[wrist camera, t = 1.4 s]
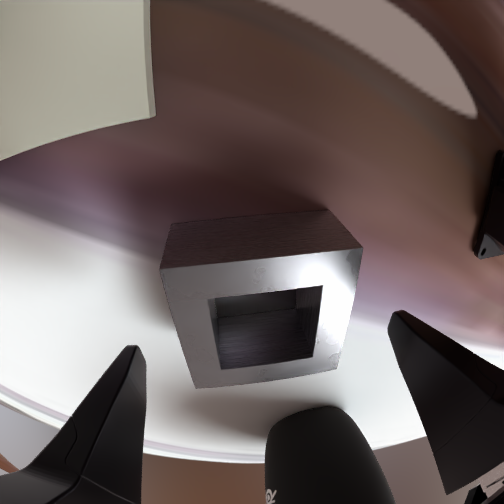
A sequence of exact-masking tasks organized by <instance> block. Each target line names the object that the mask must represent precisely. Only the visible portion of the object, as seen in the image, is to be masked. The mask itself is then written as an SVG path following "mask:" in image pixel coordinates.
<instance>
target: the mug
mask: <svg viewBox="0 0 504 504" xmlns="http://www.w3.org/2000/svg"><path fill="white" fill-rule="evenodd" d="M265 487H266V488H265V490H266V503H267V504H396V503H395V500H394V497H393V495H392V492H391V489H390V487H389V485H388V482H387V480H386V478H385V476H384V473H383V471H382V469H381V467H380V465H379V463H378V461H377V459H376V457H375V455H374V453H373V451H372V449H371V447H370V446H369V444H368V442H367V440H366V439H365V437H364V435H363V434H362V432H361V431H360V429H359V428H358V426H357V425H356V423H355V422H354V421H353V419H352V418H351V417H350V416H349V415H348V414H347V413H345V412H344V411H342V410H340V409H338V408H332V407H324V408H316V409H311V410H307V411H303V412H300V413H297V414H294V415H291V416H289V417H287V418H285V419H283V420H281V421H280V422H278V423H277V424H276V425H275V426H274V427H273V428H272V429H271V431H270V433H269V435H268V439H267V443H266V450H265Z"/></svg>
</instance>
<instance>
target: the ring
mask: <svg viewBox="0 0 504 504" xmlns="http://www.w3.org/2000/svg"><path fill="white" fill-rule="evenodd" d="M362 252H363V247H362V246H361V245H360V244H359V242H358V241H357V240H356V239H355V238H354V237H353V236H352V234H351V233H350V232H349V231H348V230H347V229H346V228H345V227H344V225H343V224H342V223H341V222H340V221H339V220H338V219H337V218H336V217H335V215H334V214H333V213H332V212H331V211H330V210H320V211H306V212H292V213H280V214H268V215H256V216H245V217H235V218H225V219H215V220H205V221H196V222H187V223H178V224H171V228H170V231H169V235H168V239H167V242H166V246H165V250H164V253H163V257H162V261H161V265H160V269H159V270H160V273H161V277H162V281H163V285H164V289H165V293H166V296H167V300H168V303H169V307H170V310H171V314H172V317H173V321H174V324H175V327H176V331H177V334H178V337H179V340H180V344H181V347H182V350H183V353H184V356H185V359H186V362H187V365H188V368H189V371H190V374H191V377H192V379H193V382H194V385H195V388H196V389H197V388H211V387H223V386H234V385H243V384H251V383H259V382H267V381H274V380H280V379H287V378H293V377H299V376H304V375H310V374H315V373H320V372H325V371H330V370H334V369H337V365H338V361H339V358H340V354H341V350H342V346H343V343H344V339H345V335H346V331H347V326H348V322H349V318H350V313H351V309H352V304H353V300H354V295H355V290H356V285H357V280H358V275H359V269H360V264H361V258H362ZM289 289H297V291H296V307H295V309H288V310H280V311H273V312H265V313H257V314H248V315H239V316H230V317H220V318H218V317H217V311H216V304H215V298H219V297H229V296H238V295H247V294H256V293H265V292H273V291H281V290H289Z"/></svg>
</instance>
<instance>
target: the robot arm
mask: <svg viewBox="0 0 504 504" xmlns="http://www.w3.org/2000/svg"><path fill="white" fill-rule="evenodd" d="M503 254H504V150H502V149H501V150H499V151H498V152H497V154H496V159H495V166H494V172H493V178H492V183H491V188H490V193H489V198H488V202H487V207H486V211H485V215H484V219H483V222H482V226H481V230H480V233H479V237H478V240H477V243H476V247H475V250H474V255H475V256H476V257H477V258H479V259H485V258H489V257H494V256H498V255H503ZM388 335H389V338H390V341H391V344H392V347H393V350H394V353H395V356H396V359H397V362H398V365H399V368H400V370H401V373H402V375H403V377H404V379H405V382H406V384H407V386H408V389H409V391H410V394H411V396H412V399H413V401H414V403H415V406H416V408H417V411H418V414H419V416H420V419H421V421H422V424H423V427H424V429H425V432H426V435H427V437H428V440H429V443H430V446H431V449H432V452H433V453H434V454H433V455H434V457H435V461H436V464H437V467H438V470H439V473H440V476H441V479H442V482H443V486H444V489H445V493H446V495H448V494H450V493H452V492H454V491H456V490H458V489H460V488H462V487H464V486H465V485H467V484H469V483H471V482H473V481H474V480H476V479H478V480H479V484H478V485H476V486H475V487H473V488H472V489H470V490H469V493H468V495H467V498H466V501H465V503H464V504H504V370H502V369H500V368H498V367H496V366H495V365H493V364H491V363H489V362H488V361H486V360H484V359H483V358H481V357H479V356H478V355H476V354H474V353H473V352H471V351H470V350H468V349H467V348H465V347H463V346H462V345H460V344H459V343H457V342H455V341H454V340H452V339H451V338H449V337H447V336H446V335H444V334H442V333H441V332H439V331H438V330H436V329H434V328H433V327H431V326H429V325H428V324H426V323H424V322H423V321H421V320H420V319H418V318H416V317H415V316H413V315H411V314H410V313H408V312H406V311H404V310H399V311H395V312H394V313H393V314H392V316H391V319H390V322H389V325H388ZM145 416H146V361H145V359H144V356H143V354H142V352H141V350H140V348H139V346H137V345H127V346H126V347H125V348H124V349H123V350H122V351H121V353H120V354H119V355H118V356H117V358H116V359H115V360H114V361H113V363H112V364H111V365H110V366H109V368H108V369H107V370H106V371H105V373H104V374H103V375H102V377H101V378H100V379H99V380H98V382H97V383H96V384H95V385H94V387H93V388H92V389H91V391H90V392H89V393H88V394H87V396H86V397H85V398H84V400H83V401H82V402H81V404H80V405H79V406H78V407H77V409H76V410H75V411H74V413H73V414H72V416H71V417H70V418H69V419H68V421H67V422H66V423H65V424H64V426H63V427H62V428H61V430H60V431H59V432H58V434H57V435H56V436H55V437H54V438H53V439H52V440H51V441H50V443H49V444H48V445H47V446H46V447H45V448H44V449H43V450H42V451H41V452H40V453H39V455H38V456H37V457H36V458H35V459H34V460H33V461H32V462H31V463H30V464H29V465H28V466H26V467H25V468H23V469H21V470H19V471H16V472H12V473H9V474H5V475H1V476H0V504H141V481H142V457H143V441H144V428H145Z"/></svg>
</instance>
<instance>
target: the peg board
mask: <svg viewBox="0 0 504 504" xmlns="http://www.w3.org/2000/svg"><path fill="white" fill-rule="evenodd" d="M154 116H156V109H155V99H154V87H153V73H152V57H151V35H150V0H0V161H1V160H3V159H6V158H8V157H11V156H13V155H16V154H19V153H21V152H24V151H27V150H29V149H32V148H35V147H38V146H41V145H44V144H47V143H50V142H53V141H56V140H59V139H63V138H66V137H69V136H73V135H77V134H80V133H84V132H88V131H91V130H95V129H99V128H104V127H108V126H112V125H117V124H121V123H126V122H131V121H136V120H142V119H147V118H151V117H154Z"/></svg>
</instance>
